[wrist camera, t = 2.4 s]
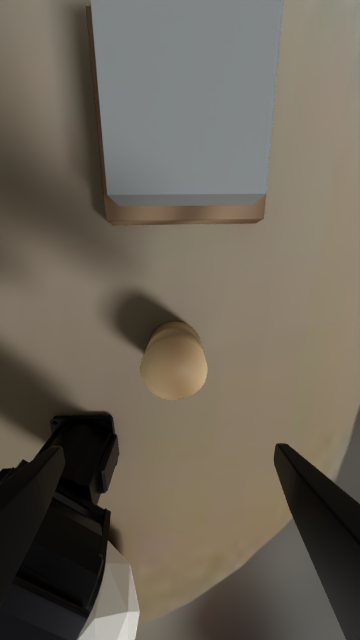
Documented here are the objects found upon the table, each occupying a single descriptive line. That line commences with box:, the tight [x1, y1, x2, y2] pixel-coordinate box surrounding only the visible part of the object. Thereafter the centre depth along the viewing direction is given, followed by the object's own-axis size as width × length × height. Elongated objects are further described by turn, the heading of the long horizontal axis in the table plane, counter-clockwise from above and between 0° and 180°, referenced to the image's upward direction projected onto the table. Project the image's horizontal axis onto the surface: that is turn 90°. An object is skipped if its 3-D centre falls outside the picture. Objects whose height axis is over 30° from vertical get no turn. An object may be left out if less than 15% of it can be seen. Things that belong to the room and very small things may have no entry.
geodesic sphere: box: [77, 541, 140, 640], centre depth 21 cm, size 14×14×14 cm
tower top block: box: [91, 0, 284, 206], centre depth 13 cm, size 10×10×2 cm
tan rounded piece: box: [140, 321, 207, 400], centre depth 18 cm, size 5×5×5 cm
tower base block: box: [86, 6, 266, 225], centre depth 15 cm, size 12×12×2 cm
